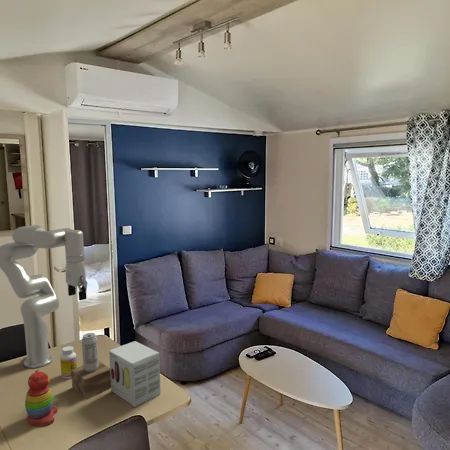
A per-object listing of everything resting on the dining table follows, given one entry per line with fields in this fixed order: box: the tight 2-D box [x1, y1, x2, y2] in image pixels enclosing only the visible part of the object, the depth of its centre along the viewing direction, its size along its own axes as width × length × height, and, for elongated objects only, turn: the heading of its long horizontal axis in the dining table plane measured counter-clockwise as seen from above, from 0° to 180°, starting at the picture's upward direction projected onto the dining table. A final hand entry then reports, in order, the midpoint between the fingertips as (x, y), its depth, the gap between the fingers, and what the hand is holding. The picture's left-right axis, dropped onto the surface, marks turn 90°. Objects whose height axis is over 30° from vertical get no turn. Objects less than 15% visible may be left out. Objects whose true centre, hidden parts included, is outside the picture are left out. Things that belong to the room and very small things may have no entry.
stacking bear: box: [24, 369, 59, 427], centre depth 151 cm, size 11×10×18 cm
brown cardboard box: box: [71, 360, 111, 399], centre depth 172 cm, size 12×12×8 cm
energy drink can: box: [81, 332, 99, 372], centre depth 171 cm, size 6×6×15 cm
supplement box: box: [108, 340, 162, 408], centre depth 167 cm, size 17×13×18 cm
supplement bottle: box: [59, 345, 78, 380], centre depth 182 cm, size 7×7×13 cm
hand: (77, 297), depth 178 cm, fingers open, 9 cm apart
